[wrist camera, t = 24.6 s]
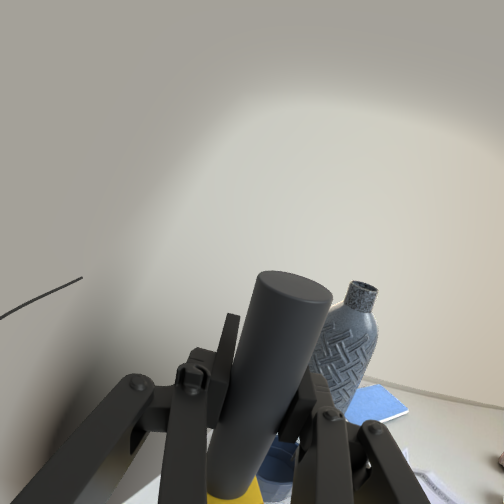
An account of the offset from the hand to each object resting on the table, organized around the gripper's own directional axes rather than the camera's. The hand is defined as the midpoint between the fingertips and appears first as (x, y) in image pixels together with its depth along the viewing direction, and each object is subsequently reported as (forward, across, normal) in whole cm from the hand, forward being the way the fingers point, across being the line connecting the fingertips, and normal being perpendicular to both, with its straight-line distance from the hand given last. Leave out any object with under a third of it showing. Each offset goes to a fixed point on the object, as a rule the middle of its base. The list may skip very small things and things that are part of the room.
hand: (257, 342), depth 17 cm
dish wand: (-5, 0, -10) cm, 12 cm away
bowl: (+12, +9, -30) cm, 34 cm away
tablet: (+35, +33, -30) cm, 57 cm away
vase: (+29, +18, -30) cm, 45 cm away
